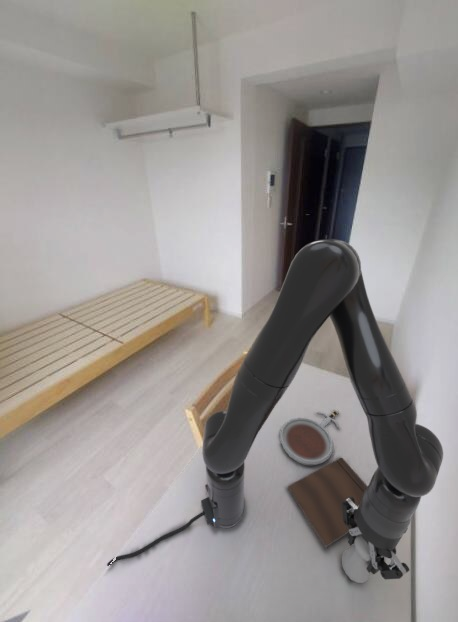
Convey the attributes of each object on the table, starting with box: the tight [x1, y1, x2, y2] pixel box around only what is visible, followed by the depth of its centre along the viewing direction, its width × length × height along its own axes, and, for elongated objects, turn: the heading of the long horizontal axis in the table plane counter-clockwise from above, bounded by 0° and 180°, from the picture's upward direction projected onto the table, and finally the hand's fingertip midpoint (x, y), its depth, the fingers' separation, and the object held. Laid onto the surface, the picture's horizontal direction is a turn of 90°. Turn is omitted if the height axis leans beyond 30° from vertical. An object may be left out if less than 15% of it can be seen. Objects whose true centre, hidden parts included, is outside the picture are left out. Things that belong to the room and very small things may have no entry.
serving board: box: [287, 457, 368, 549], centre depth 74 cm, size 20×15×2 cm
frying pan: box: [279, 409, 340, 467], centre depth 92 cm, size 17×3×28 cm
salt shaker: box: [341, 535, 372, 584], centre depth 58 cm, size 6×6×13 cm
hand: (361, 554), depth 57 cm, fingers closed on salt shaker, 4 cm apart
